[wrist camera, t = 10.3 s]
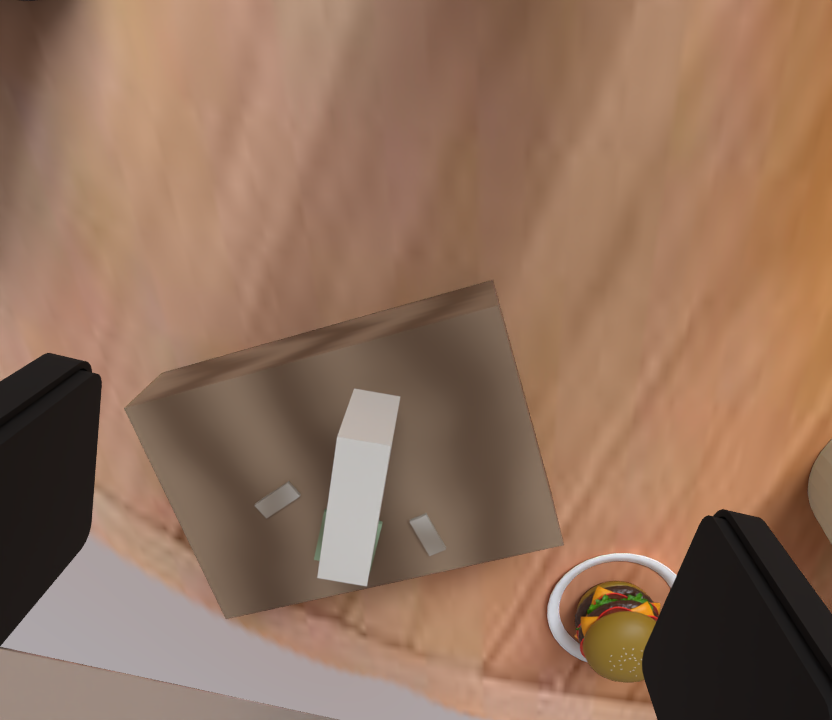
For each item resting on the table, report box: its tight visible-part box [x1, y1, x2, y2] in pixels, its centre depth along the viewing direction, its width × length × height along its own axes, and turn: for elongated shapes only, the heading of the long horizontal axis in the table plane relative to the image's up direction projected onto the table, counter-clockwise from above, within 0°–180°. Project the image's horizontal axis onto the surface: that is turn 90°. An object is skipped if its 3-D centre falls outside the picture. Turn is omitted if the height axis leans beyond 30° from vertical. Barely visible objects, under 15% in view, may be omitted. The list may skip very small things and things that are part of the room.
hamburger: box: [547, 553, 677, 682], centre depth 43 cm, size 12×12×6 cm
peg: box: [317, 389, 400, 586], centre depth 33 cm, size 10×2×7 cm, turn 171°
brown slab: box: [124, 280, 564, 619], centre depth 39 cm, size 20×14×5 cm
